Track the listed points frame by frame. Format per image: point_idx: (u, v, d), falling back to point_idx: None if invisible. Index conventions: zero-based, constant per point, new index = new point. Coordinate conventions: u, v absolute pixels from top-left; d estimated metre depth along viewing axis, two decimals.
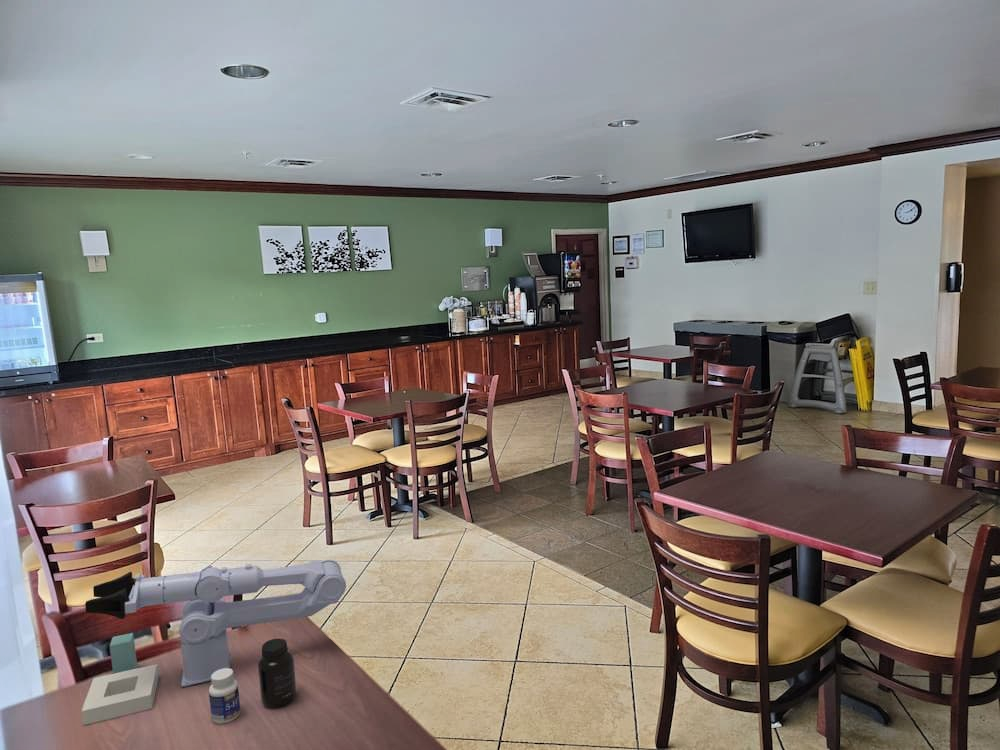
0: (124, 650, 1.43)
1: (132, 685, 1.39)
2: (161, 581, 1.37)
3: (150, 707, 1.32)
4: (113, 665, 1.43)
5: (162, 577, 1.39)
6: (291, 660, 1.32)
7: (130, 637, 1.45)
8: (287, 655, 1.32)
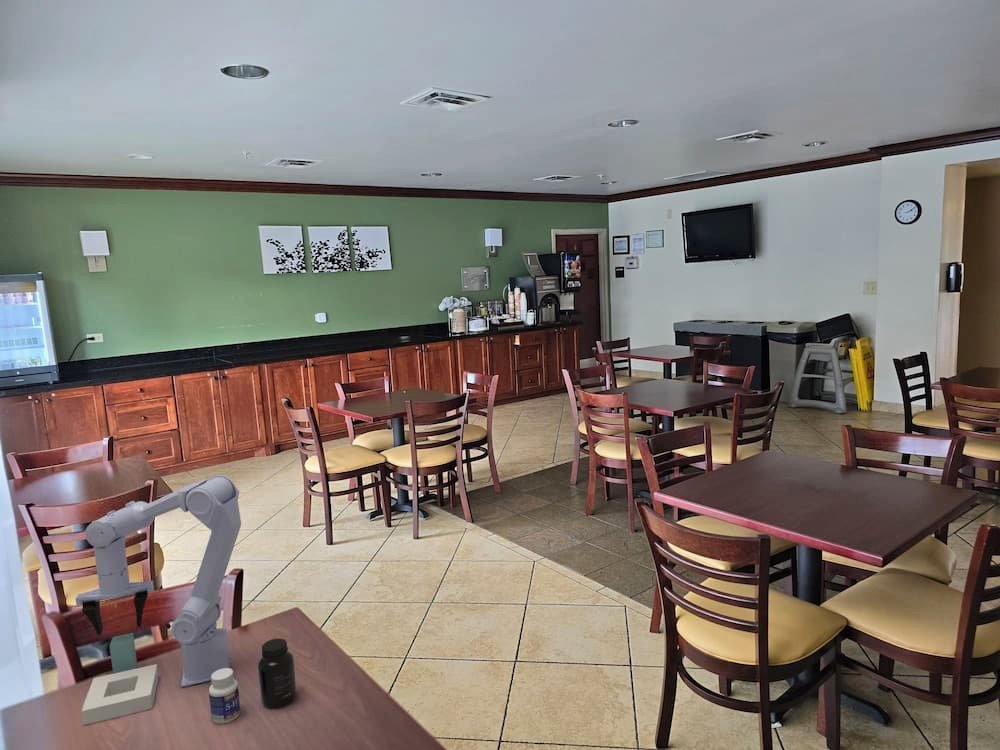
0: (124, 650, 1.43)
1: (132, 685, 1.39)
2: None
3: (150, 707, 1.32)
4: (113, 665, 1.43)
5: None
6: (291, 660, 1.32)
7: (130, 637, 1.45)
8: (287, 655, 1.32)
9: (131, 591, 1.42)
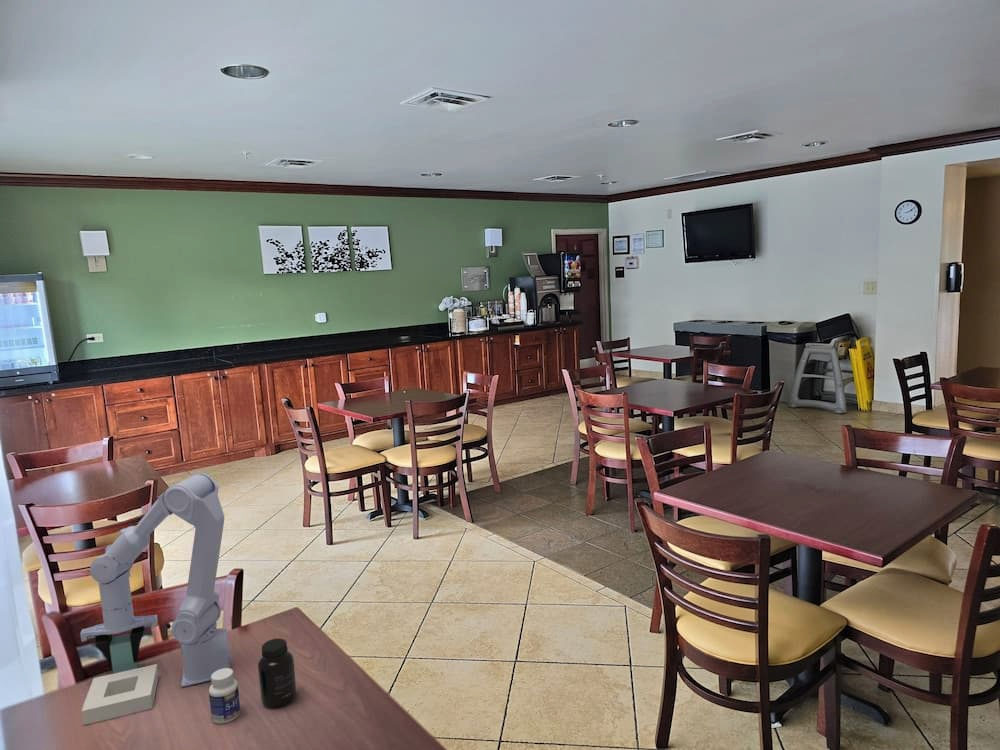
0: (124, 650, 1.43)
1: (132, 685, 1.39)
2: None
3: (150, 707, 1.32)
4: (113, 665, 1.43)
5: None
6: (291, 660, 1.32)
7: None
8: (287, 655, 1.32)
9: (135, 626, 1.43)
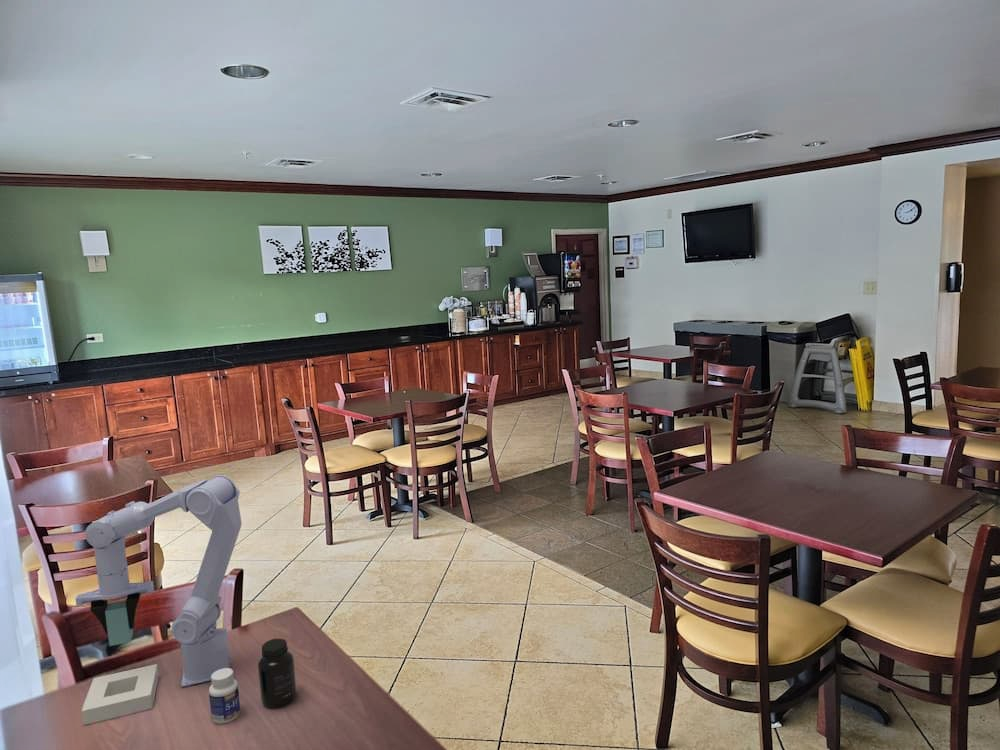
0: (119, 616, 1.42)
1: (132, 685, 1.39)
2: None
3: (150, 707, 1.32)
4: (108, 631, 1.41)
5: None
6: (291, 660, 1.32)
7: None
8: (287, 655, 1.32)
9: (131, 591, 1.42)
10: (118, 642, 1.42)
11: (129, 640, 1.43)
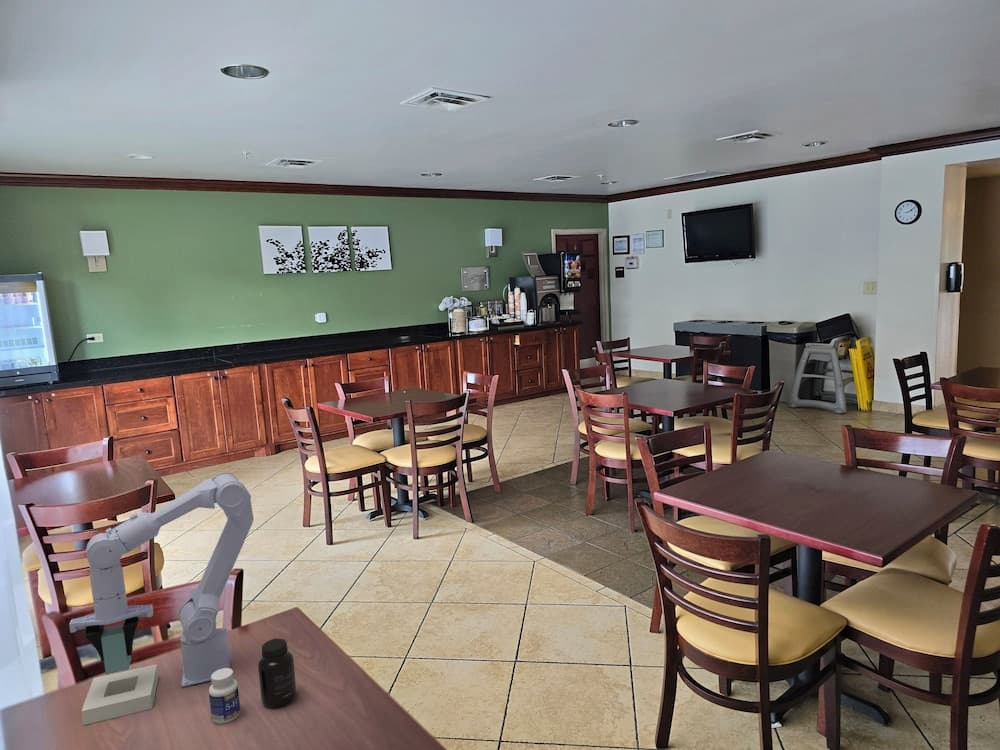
0: (117, 642, 1.32)
1: (132, 685, 1.39)
2: None
3: (150, 707, 1.32)
4: (105, 658, 1.32)
5: None
6: (291, 660, 1.32)
7: None
8: (287, 655, 1.32)
9: (129, 616, 1.33)
10: (115, 670, 1.33)
11: (127, 668, 1.34)
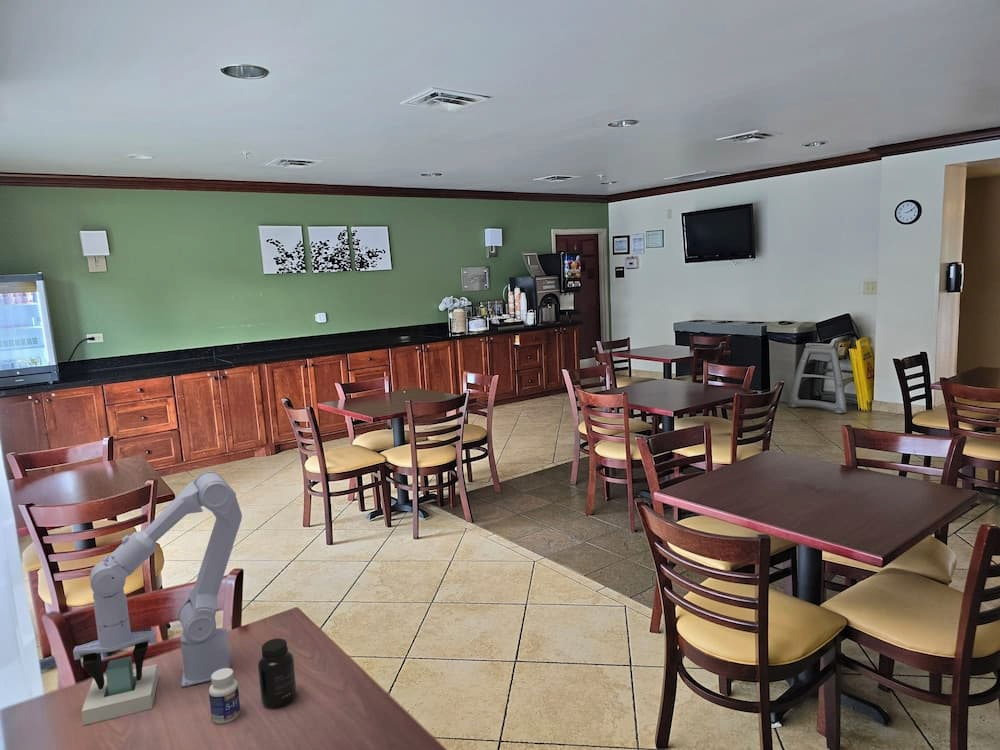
0: (121, 676, 1.33)
1: None
2: None
3: (150, 707, 1.32)
4: (109, 691, 1.33)
5: None
6: (291, 660, 1.32)
7: (128, 661, 1.35)
8: (287, 655, 1.32)
9: (132, 643, 1.33)
10: None
11: None
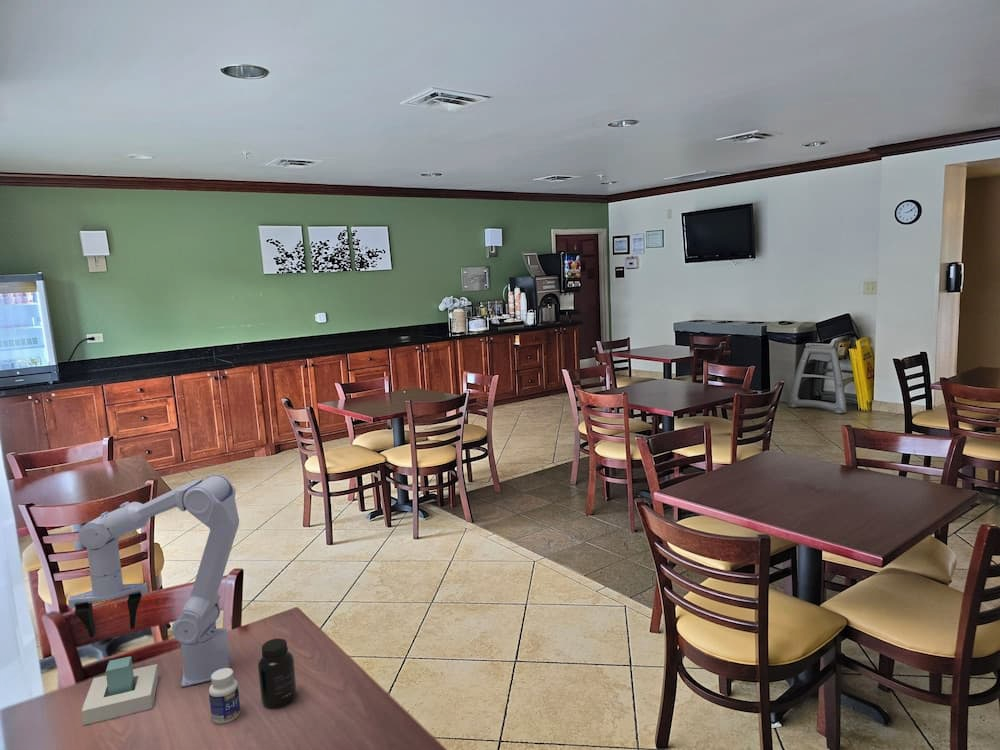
0: (121, 676, 1.33)
1: None
2: None
3: (150, 707, 1.32)
4: (109, 691, 1.33)
5: None
6: (291, 660, 1.32)
7: (128, 661, 1.35)
8: (287, 655, 1.32)
9: (124, 593, 1.41)
10: None
11: None
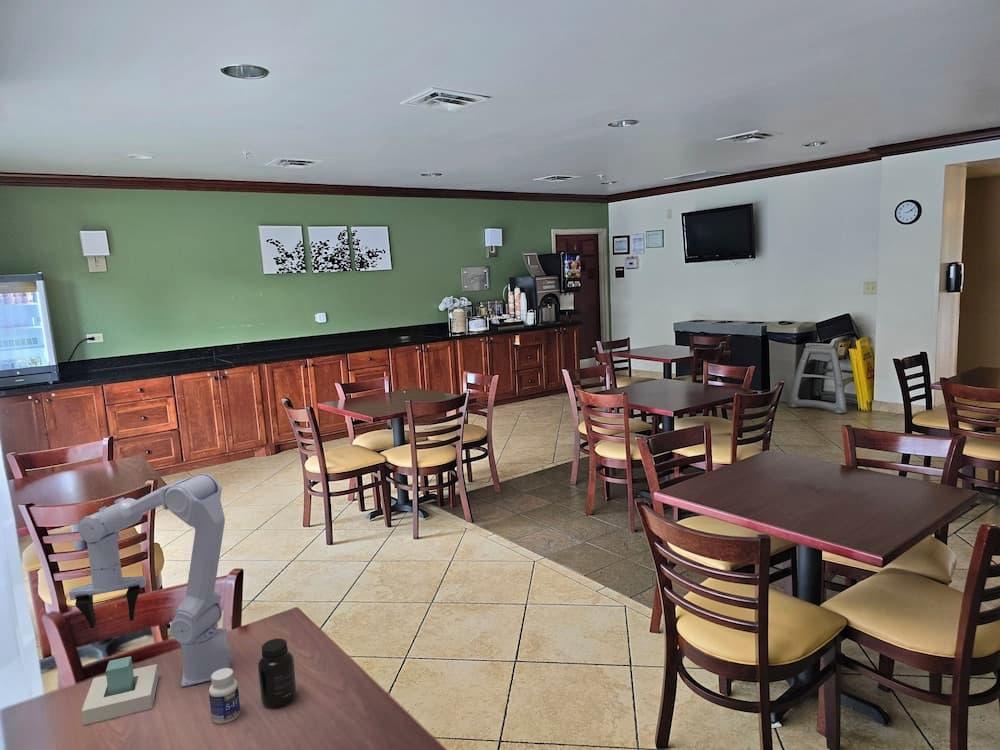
0: (121, 676, 1.33)
1: None
2: None
3: (150, 707, 1.32)
4: (109, 691, 1.33)
5: None
6: (291, 660, 1.32)
7: (128, 661, 1.35)
8: (287, 655, 1.32)
9: (123, 585, 1.45)
10: None
11: None
